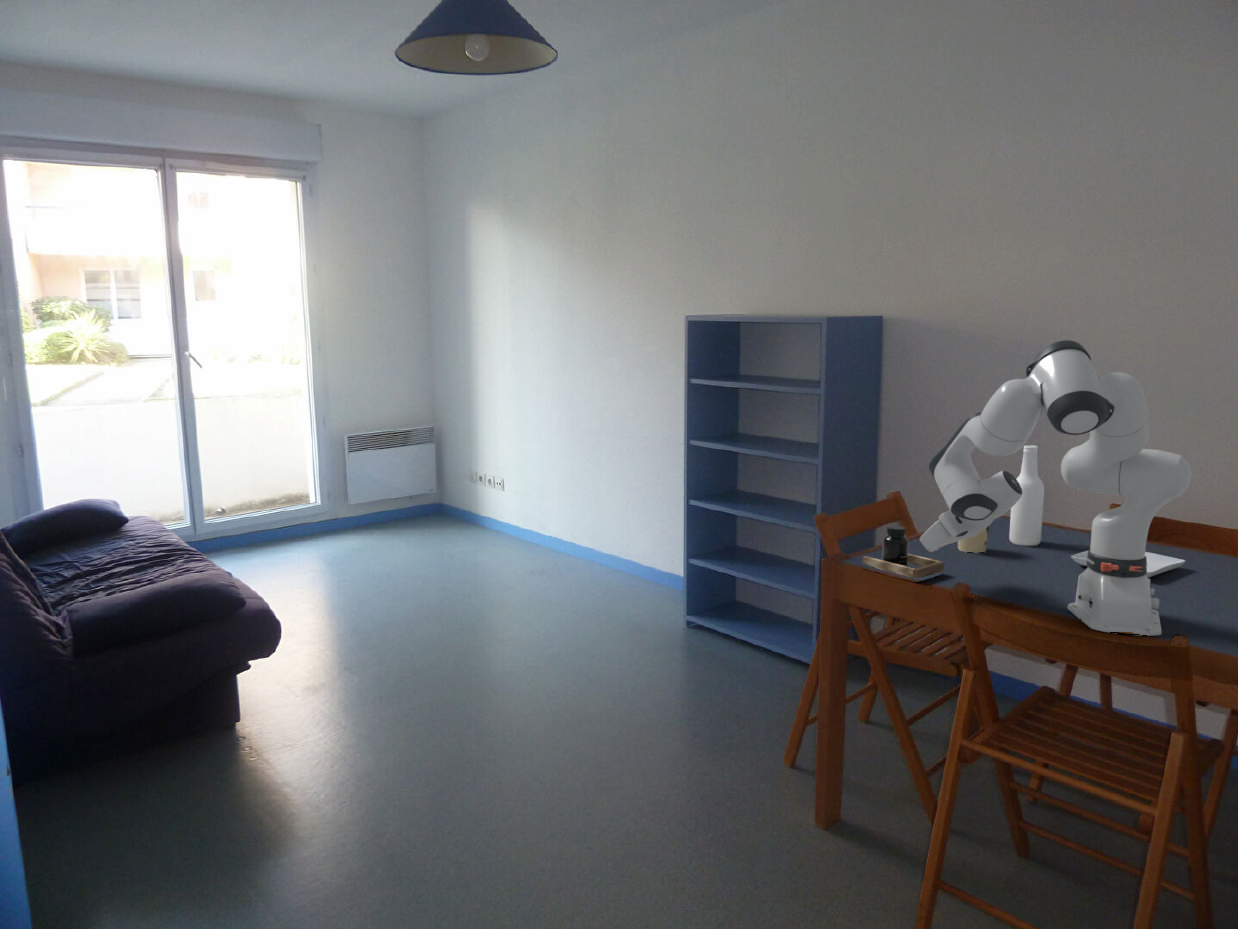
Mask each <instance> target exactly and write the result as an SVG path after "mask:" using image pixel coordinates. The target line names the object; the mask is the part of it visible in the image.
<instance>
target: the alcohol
mask: <svg viewBox="0 0 1238 929" xmlns="http://www.w3.org/2000/svg"><path fill="white" fill-rule="evenodd" d="M1038 449H1039V446H1037V445H1032V444H1031V445H1030V444H1026V445H1025V444H1024V446H1023V455H1022V461H1021V462H1022V463H1021V468H1020V472H1019V475H1018V476H1017V478H1015V479H1016V480H1017V481H1018V483H1019V485H1020V487H1021V489H1022V496H1021V498H1020V499H1019V500H1018V502H1017V503H1016V504H1015V505H1014V506H1013V507H1012V508H1010V517H1009V518H1010V519H1009V520H1010V521H1009V523H1010V524H1009V535H1008V537H1009V538H1008V540H1009V541H1010V543H1011V542H1012V543H1011V544H1014V545H1017V546H1024V547H1035V546H1038V545H1040V543H1041V542H1042V526H1043V515H1044V514H1043V512H1044V511H1043V510H1044V500H1045V499H1044V498H1045V497H1044V496H1045V485H1044V482H1043V480H1042V479H1041V478H1040V477H1039V474H1038V472H1039V471H1038V452H1039V451H1038Z"/></svg>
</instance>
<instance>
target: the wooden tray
mask: <svg viewBox="0 0 1238 929" xmlns="http://www.w3.org/2000/svg"><path fill="white" fill-rule="evenodd" d="M862 564H866V565H869V566H873V567H875V568H877V569H880V570H885V571H889V572H892V573H896V574H900V575H905V576H907V577H915V578H919V577H925V576H929V575H933V574H935V573H939V572H942V571H944V572H945V561H941V560H937V559H933V558H928V557H924V556H920V555H917V554H916V555H915V554H911V553H908V564H913V565H917V566H920V567H919V568H916V569H915V568H911V567H907V566H903V565H899V564H895V563H891V562H887V561H883V560H882V559H879V558H875V557H870V556H866V555H865V556H862Z"/></svg>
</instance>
